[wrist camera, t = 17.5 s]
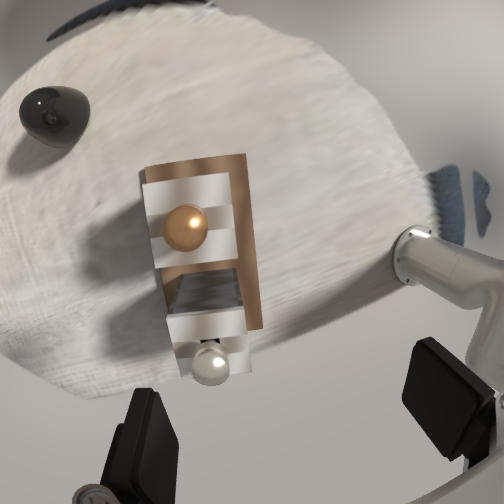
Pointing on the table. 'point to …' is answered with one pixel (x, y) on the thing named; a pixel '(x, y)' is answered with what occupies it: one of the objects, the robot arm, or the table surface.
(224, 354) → the ivory plunger
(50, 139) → the pump dispenser
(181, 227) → the copper plunger
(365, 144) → the table surface
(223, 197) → the press station
